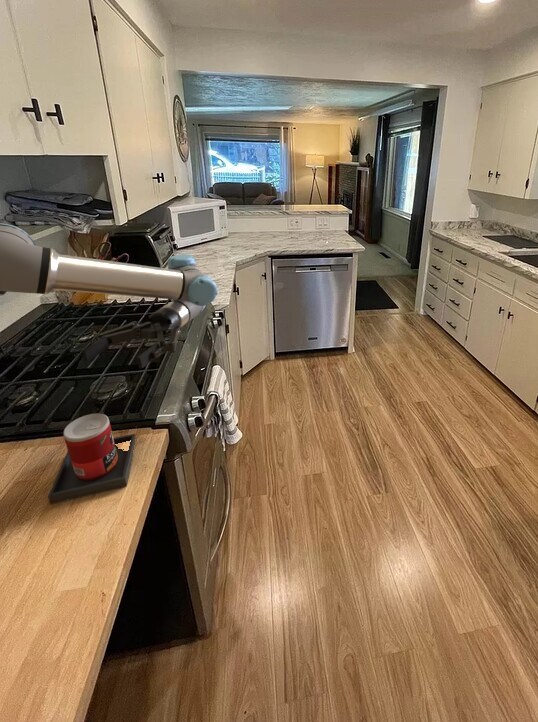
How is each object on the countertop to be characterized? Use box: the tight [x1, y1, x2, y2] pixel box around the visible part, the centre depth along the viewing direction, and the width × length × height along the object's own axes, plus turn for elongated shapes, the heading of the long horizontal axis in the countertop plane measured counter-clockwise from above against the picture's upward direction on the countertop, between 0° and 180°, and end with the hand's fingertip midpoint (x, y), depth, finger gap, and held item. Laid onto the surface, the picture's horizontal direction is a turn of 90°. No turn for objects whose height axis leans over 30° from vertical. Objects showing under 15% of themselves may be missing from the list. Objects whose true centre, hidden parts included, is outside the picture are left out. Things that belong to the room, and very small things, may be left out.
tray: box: [47, 433, 137, 505], centre depth 76 cm, size 13×13×2 cm
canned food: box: [63, 413, 118, 481], centre depth 74 cm, size 8×8×11 cm
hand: (111, 359), depth 78 cm, fingers open, 13 cm apart
